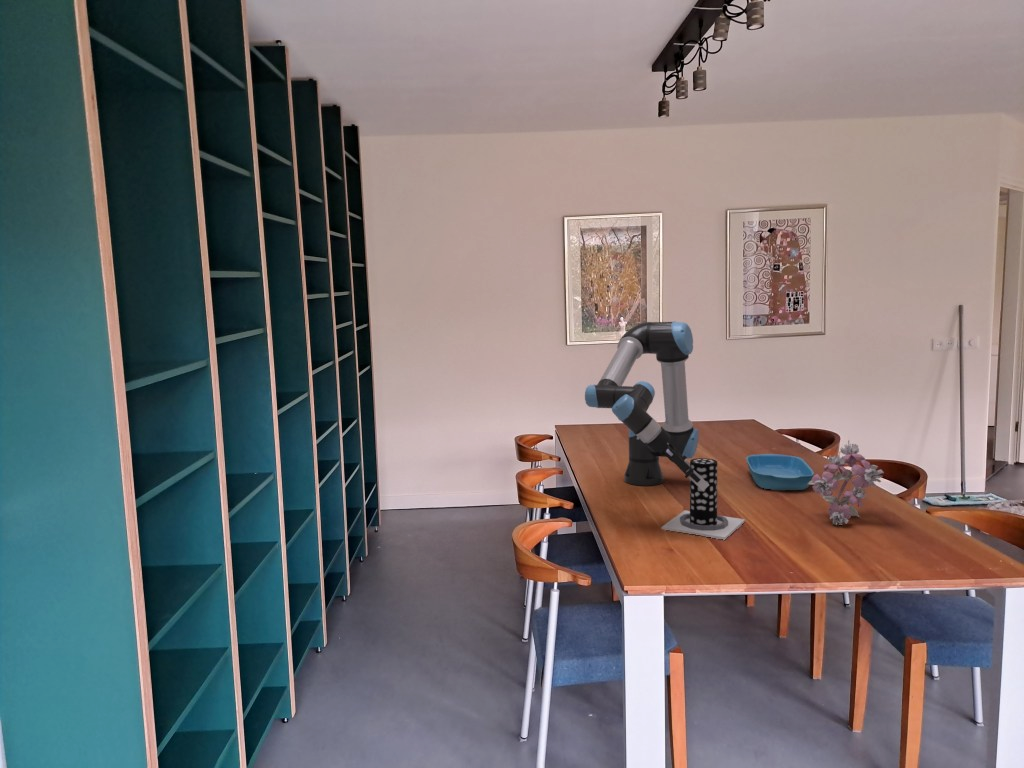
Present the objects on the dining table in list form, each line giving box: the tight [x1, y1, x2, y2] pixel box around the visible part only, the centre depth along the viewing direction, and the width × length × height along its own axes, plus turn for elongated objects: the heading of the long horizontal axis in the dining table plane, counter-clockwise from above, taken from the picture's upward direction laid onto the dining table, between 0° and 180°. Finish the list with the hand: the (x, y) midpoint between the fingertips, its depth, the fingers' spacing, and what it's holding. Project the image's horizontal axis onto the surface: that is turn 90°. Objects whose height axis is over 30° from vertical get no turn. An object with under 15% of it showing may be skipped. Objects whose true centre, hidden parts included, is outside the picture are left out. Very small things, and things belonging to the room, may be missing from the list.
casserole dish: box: [745, 453, 815, 491], centre depth 281 cm, size 37×22×7 cm, turn 169°
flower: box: [807, 440, 885, 526], centre depth 233 cm, size 20×22×25 cm
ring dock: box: [661, 509, 746, 541], centre depth 230 cm, size 20×20×2 cm
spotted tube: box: [689, 457, 718, 525], centre depth 229 cm, size 8×8×20 cm
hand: (701, 482), depth 228 cm, fingers open, 13 cm apart
